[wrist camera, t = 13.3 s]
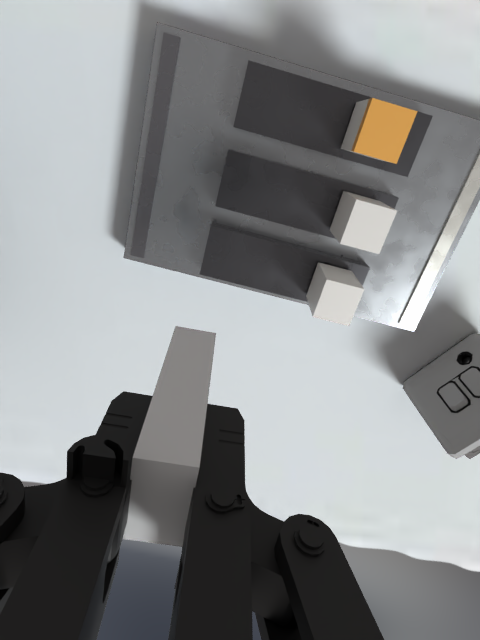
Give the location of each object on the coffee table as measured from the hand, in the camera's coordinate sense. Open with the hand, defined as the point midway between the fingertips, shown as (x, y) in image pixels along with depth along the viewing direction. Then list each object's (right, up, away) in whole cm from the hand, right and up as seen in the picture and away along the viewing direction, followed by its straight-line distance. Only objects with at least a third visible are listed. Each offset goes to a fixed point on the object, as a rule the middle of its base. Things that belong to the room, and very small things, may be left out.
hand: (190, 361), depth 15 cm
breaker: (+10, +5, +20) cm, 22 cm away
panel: (+7, +13, +20) cm, 25 cm away
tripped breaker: (+11, +16, +15) cm, 24 cm away
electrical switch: (+24, -4, +28) cm, 37 cm away
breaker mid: (+11, +10, +17) cm, 23 cm away
